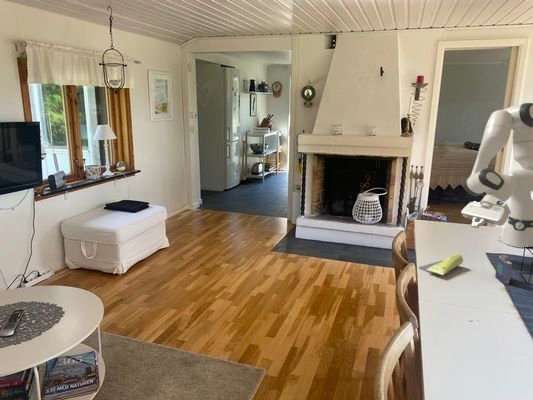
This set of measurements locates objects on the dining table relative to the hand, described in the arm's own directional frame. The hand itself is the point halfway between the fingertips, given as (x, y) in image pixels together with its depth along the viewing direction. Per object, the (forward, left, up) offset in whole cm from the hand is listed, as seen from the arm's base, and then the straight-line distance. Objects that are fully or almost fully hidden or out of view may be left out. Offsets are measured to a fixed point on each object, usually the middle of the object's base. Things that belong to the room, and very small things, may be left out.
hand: (474, 226), depth 183 cm
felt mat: (+20, -8, -16) cm, 27 cm away
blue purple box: (+16, +15, -16) cm, 27 cm away
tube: (+12, -2, -13) cm, 17 cm away
